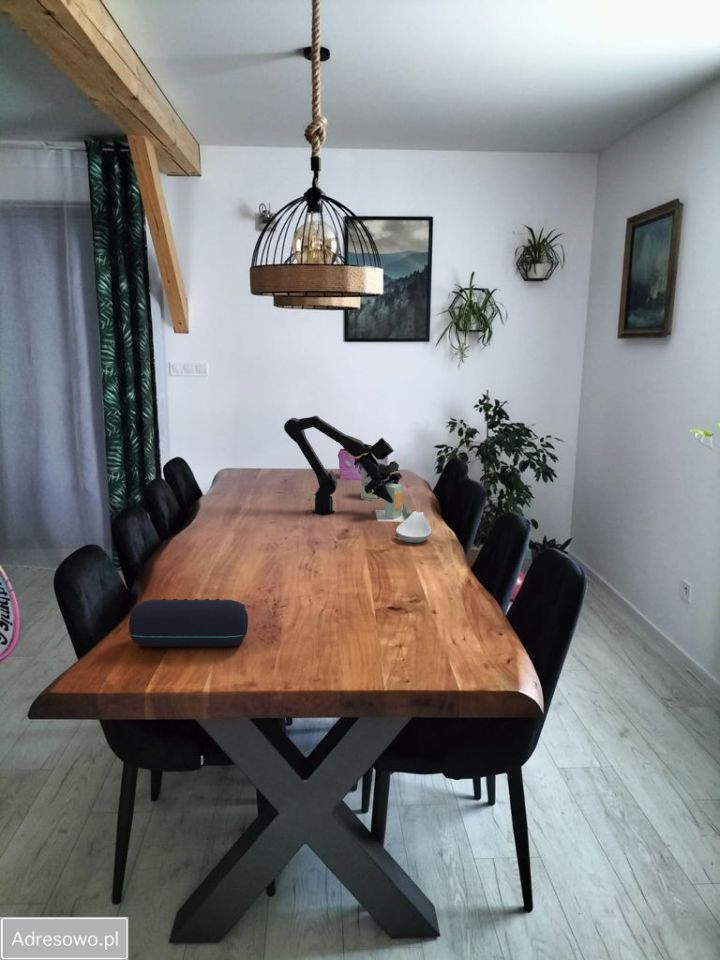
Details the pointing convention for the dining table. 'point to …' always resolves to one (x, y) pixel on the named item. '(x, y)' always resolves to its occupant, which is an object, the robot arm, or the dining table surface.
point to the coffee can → (363, 483)
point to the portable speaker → (188, 623)
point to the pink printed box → (352, 465)
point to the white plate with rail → (404, 515)
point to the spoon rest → (414, 528)
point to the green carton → (395, 507)
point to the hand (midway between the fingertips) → (396, 500)
